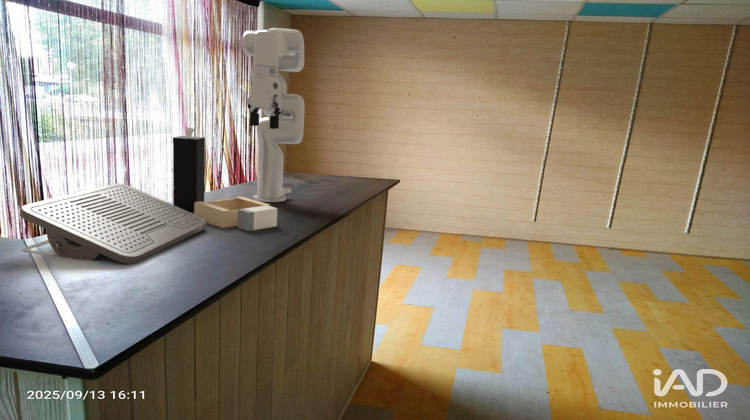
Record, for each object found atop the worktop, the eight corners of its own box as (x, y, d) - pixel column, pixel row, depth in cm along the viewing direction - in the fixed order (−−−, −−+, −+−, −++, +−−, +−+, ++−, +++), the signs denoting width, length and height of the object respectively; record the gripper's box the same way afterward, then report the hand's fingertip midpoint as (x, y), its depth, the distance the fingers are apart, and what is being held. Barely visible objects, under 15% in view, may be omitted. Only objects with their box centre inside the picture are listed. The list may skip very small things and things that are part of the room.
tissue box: (196, 213, 178) (197, 129, 172) (173, 212, 178) (172, 127, 172) (204, 209, 186) (205, 127, 180) (181, 207, 186) (181, 125, 180)
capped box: (266, 223, 170) (266, 205, 169) (276, 227, 167) (277, 208, 166) (237, 228, 162) (238, 209, 161) (247, 232, 159) (248, 212, 158)
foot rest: (131, 275, 120) (130, 221, 118) (12, 259, 125) (8, 206, 122) (210, 233, 158) (211, 191, 155) (117, 222, 162) (116, 181, 160)
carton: (241, 213, 184) (241, 196, 182) (269, 222, 174) (270, 204, 173) (194, 220, 170) (194, 202, 168) (222, 230, 161) (223, 211, 159)
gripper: (293, 74, 166) (291, 129, 170) (257, 72, 177) (256, 124, 180) (274, 72, 160) (272, 130, 164) (238, 70, 171) (237, 124, 175)
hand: (264, 127), depth 172 cm, fingers open, 9 cm apart
